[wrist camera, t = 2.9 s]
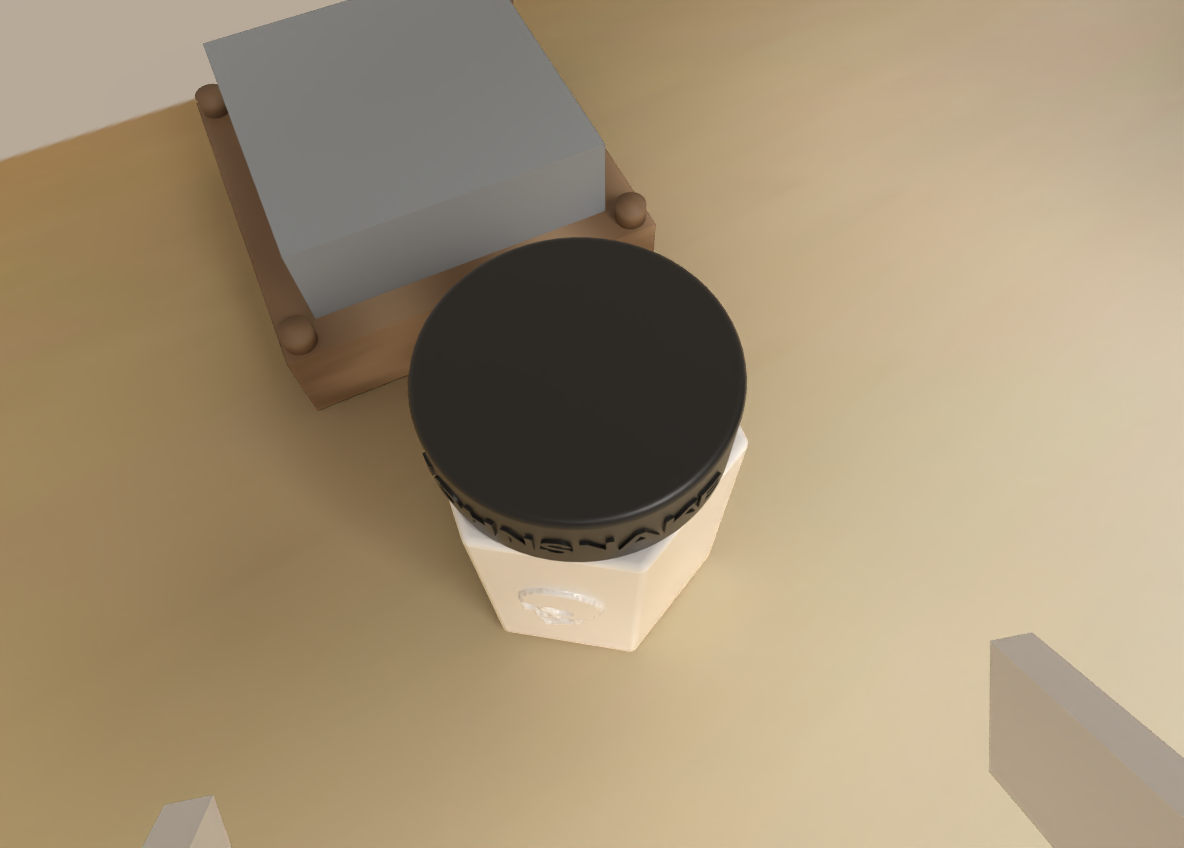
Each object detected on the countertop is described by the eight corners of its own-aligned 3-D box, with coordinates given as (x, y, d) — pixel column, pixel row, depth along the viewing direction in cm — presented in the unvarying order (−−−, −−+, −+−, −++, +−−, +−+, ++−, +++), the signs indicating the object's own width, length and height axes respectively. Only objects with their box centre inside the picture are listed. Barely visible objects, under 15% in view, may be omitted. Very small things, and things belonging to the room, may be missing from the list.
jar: (441, 628, 28) (342, 497, 18) (492, 424, 32) (436, 214, 21) (696, 670, 28) (754, 559, 17) (718, 456, 31) (777, 255, 21)
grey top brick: (493, 33, 38) (483, -41, 34) (605, 210, 32) (604, 144, 29) (238, 113, 35) (202, 43, 32) (315, 318, 30) (282, 258, 27)
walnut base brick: (517, 67, 42) (509, -11, 38) (651, 279, 35) (656, 210, 31) (229, 162, 39) (188, 87, 35) (317, 410, 32) (279, 352, 29)
